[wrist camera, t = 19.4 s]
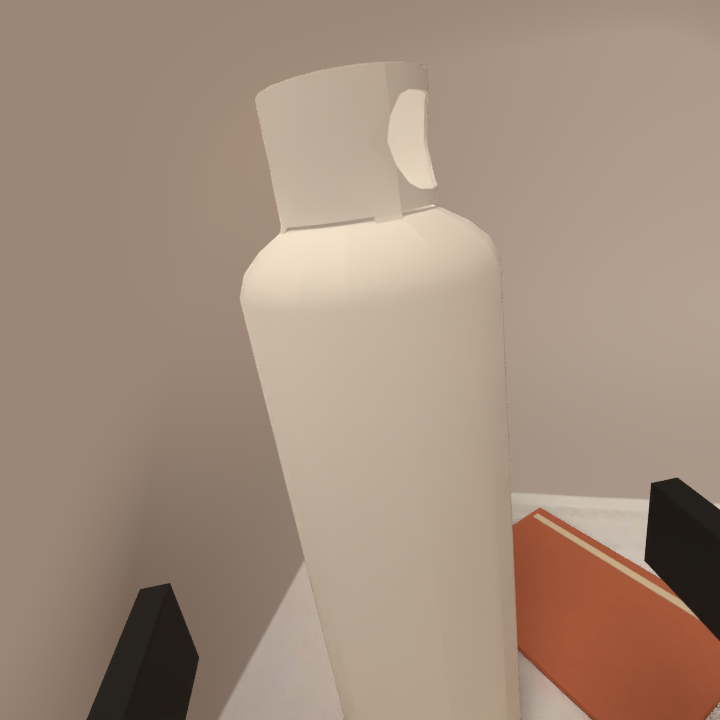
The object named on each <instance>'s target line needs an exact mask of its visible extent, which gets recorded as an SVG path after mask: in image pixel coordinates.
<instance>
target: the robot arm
mask: <svg viewBox="0 0 720 720" xmlns="http://www.w3.org/2000/svg"><path fill="white" fill-rule="evenodd" d="M650 492H651V493H650V502H649V514H648V525H647V537H646V548H645V559H644V561H645V562H646V563H647V564H648V565H649V566H650V567H651V568H652V569H653V570H654V571H655V572H656V574H657V575H658V576H659V577H660V578H661V579H662V580H663V581H664V582H665V583H666V584H667V585H668V586H669V587H670V589H671V590H672V591H673V592H674V593H675V594H676V595H677V596H678V597H679V598H680V599H681V600H682V601H683V602H684V604H685V605H686V606H687V607H688V608H689V609H690V610H691V611H692V612H693V613H694V614H695V615H696V616H697V617H698V619H699V620H700V621H701V622H702V623H703V624H704V625H705V626H706V627H707V628H708V629H709V630H710V631H711V633H712V634H713V635H714V636H715V637H716V638H717V639H718V640H719V641H720V509H718V508H717V507H716V506H714V505H713V504H712V503H710V502H709V501H708V500H706V499H705V498H704V497H702V496H701V495H700V494H698V493H697V492H696V491H695V490H693V489H692V488H691V487H689V486H688V485H686V484H685V483H684V482H683V481H681V480H680V479H679V478H673V479H669V480H664V481H659V482H654V483H651V491H650ZM198 660H199V656H198V653H197V651H196V648H195V646H194V644H193V641H192V638H191V636H190V633H189V630H188V628H187V625H186V623H185V620H184V618H183V615H182V612H181V610H180V607H179V605H178V602H177V600H176V597H175V595H174V592H173V590H172V587H171V584H170V583H169V584H163V585H158V586H154V587H149V588H144V589H140V591H139V593H138V596H137V598H136V601H135V603H134V605H133V608H132V610H131V613H130V615H129V618H128V620H127V622H126V625H125V627H124V630H123V632H122V635H121V637H120V639H119V642H118V644H117V647H116V649H115V652H114V654H113V657H112V659H111V662H110V664H109V666H108V669H107V671H106V674H105V676H104V679H103V681H102V683H101V686H100V688H99V691H98V693H97V696H96V698H95V701H94V703H93V705H92V708H91V710H90V713H89V715H88V718H87V720H185V719H186V714H187V710H188V706H189V701H190V697H191V692H192V687H193V683H194V679H195V674H196V670H197V664H198Z"/></svg>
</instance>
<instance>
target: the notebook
mask: <svg viewBox="0 0 720 720" xmlns="http://www.w3.org/2000/svg"><path fill="white" fill-rule="evenodd" d="M512 528H513V551H514V575H515V598H516V621H517V645H518V650H519V651H520V652H521V653H522V654H523V655H524V656H525V657H526V658H527V659H528V660H529V661H531V662H532V663H533V664H534V665H535V666H536V667H537V668H538V669H539V670H540V671H541V672H542V673H543V674H544V675H545V676H547V677H548V678H549V679H550V680H551V681H552V682H553V683H554V684H555V685H556V686H557V687H558V688H559V689H560V690H561V691H563V692H564V693H565V694H566V695H567V696H568V697H569V698H570V699H571V700H572V701H573V702H574V703H575V704H576V705H577V706H578V707H580V708H581V709H582V710H583V711H584V712H585V713H586V714H587V715H588V716H589V717H590V718H591V719H592V720H706V718H707V717H708V716H709V714H710V713H711V712H712V711H713V709H714V708H715V707H716V706H717V704H718V703H719V702H720V641H719V640H718V639H717V638H716V637H715V636H714V635H713V634H712V633H711V631H710V630H709V629H708V628H707V627H706V626H705V625H704V624H703V623H702V622H701V621H700V620H699V619H698V617H697V616H696V615H695V614H694V613H693V612H692V611H691V610H690V609H689V608H688V607H687V606H686V605H685V604H684V602H683V601H682V600H681V599H680V598H679V597H678V596H677V595H676V594H675V593H674V592H673V591H672V590H671V589H670V587H669V586H668V585H667V584H666V583H665V582H664V581H663V580H662V579H660V578H658V577H657V576H655V575H653V574H651V573H650V572H648V571H646V570H645V569H643V568H641V567H640V566H638V565H636V564H635V563H633V562H631V561H630V560H628V559H626V558H624V557H623V556H621V555H619V554H618V553H616V552H614V551H613V550H611V549H609V548H608V547H606V546H604V545H602V544H601V543H599V542H597V541H596V540H594V539H592V538H591V537H589V536H587V535H586V534H584V533H582V532H580V531H579V530H577V529H575V528H574V527H572V526H570V525H569V524H567V523H565V522H564V521H562V520H560V519H558V518H557V517H555V516H553V515H552V514H550V513H548V512H547V511H545V510H543V509H542V508H538V509H537V510H535V511H534V512H532V513H531V514H529V515H528V516H526V517H525V518H523V519H522V520H520V521H519V522H517V523H516V524H514V525H513V526H512Z"/></svg>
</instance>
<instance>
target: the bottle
mask: <svg viewBox="0 0 720 720" xmlns="http://www.w3.org/2000/svg"><path fill="white" fill-rule="evenodd" d="M428 97H429V85H428V72H427V69H426V68H425V67H424V66H423V65H421V64H416V63H411V62H374V63H363V64H354V65H347V66H342V67H337V68H330V69H324V70H320V71H316V72H312V73H308V74H304V75H301V76H297V77H293V78H290V79H287V80H285V81H282V82H279V83H277V84H274V85H271V86H269V87H268V88H266V89H264V90H263V91H261V92H259V93H258V95H257V97H256V99H255V102H256V107H257V112H258V117H259V122H260V127H261V131H262V136H263V141H264V146H265V150H266V154H267V158H268V162H269V166H270V172H271V178H272V185H273V190H274V194H275V199H276V204H277V208H278V214H279V219H280V224H281V230H280V234H279V235H278V236H277V237H275V238H274V239H273V241H271V242H270V243H269V244H268V245H267V246H266V247H265V248H264V249H262V250H261V251H260V252H259V254H258V255H257V256H256V258H255V259H254V261H253V262H252V264H251V265H250V267H249V268H248V269H247V271H246V272H245V274H244V278H243V283H242V289H241V294H240V302H241V306H242V310H243V314H244V318H245V322H246V326H247V330H248V334H249V338H250V342H251V346H252V350H253V354H254V357H255V362H256V366H257V370H258V374H259V378H260V382H261V386H262V390H263V394H264V398H265V402H266V406H267V410H268V414H269V418H270V422H271V426H272V430H273V434H274V438H275V442H276V446H277V449H278V454H279V458H280V462H281V466H282V470H283V474H284V478H285V482H286V486H287V490H288V494H289V497H290V502H291V505H292V510H293V514H294V518H295V522H296V526H297V530H298V534H299V538H300V542H301V546H302V550H303V554H304V558H305V562H306V566H307V570H308V574H309V578H310V582H311V586H312V590H313V594H314V598H315V602H316V606H317V610H318V614H319V618H320V622H321V626H322V630H323V634H324V638H325V642H326V646H327V650H328V654H329V658H330V662H331V666H332V670H333V674H334V678H335V682H336V686H337V690H338V694H339V698H340V702H341V706H342V710H343V714H344V718H345V720H521V718H520V691H519V668H518V645H517V621H516V598H515V575H514V551H513V528H512V505H511V483H510V482H511V481H510V459H509V435H508V411H507V388H506V367H505V342H504V318H503V297H502V296H503V295H502V272H501V257H500V255H499V254H498V252H497V250H496V248H495V246H494V244H493V242H492V240H491V238H490V236H489V235H487V234H486V233H485V232H484V231H482V230H481V229H479V228H478V227H477V226H476V225H474V224H473V223H472V222H471V221H469V220H468V219H466V218H464V217H461V216H459V215H457V214H455V213H453V212H450V211H448V210H446V209H444V208H442V207H439V206H437V205H436V203H437V202H438V201H439V199H438V188H437V183H436V180H435V178H434V173H433V168H432V164H431V159H430V154H429V150H428V146H427V110H428Z"/></svg>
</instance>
